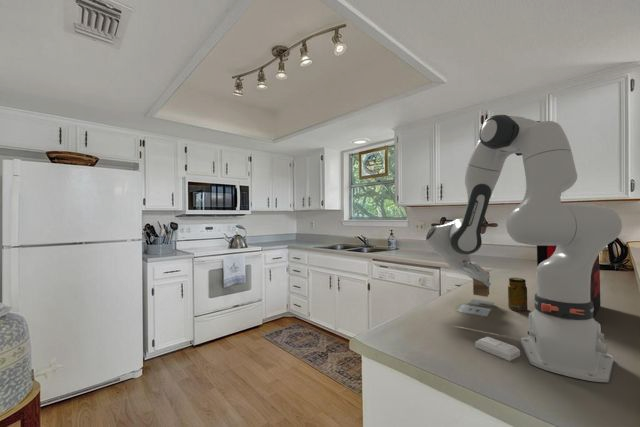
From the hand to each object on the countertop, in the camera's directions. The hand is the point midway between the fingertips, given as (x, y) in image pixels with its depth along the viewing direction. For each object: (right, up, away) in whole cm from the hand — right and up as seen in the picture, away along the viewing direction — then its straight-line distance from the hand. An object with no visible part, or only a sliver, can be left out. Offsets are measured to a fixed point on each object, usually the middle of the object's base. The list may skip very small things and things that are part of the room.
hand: (482, 282), depth 118 cm
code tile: (-8, -9, -8) cm, 15 cm away
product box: (+28, -8, -8) cm, 31 cm away
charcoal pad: (-1, -9, 0) cm, 9 cm away
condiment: (+9, -9, -9) cm, 16 cm away
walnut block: (-1, -5, 0) cm, 5 cm away
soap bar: (-19, -9, -41) cm, 46 cm away
